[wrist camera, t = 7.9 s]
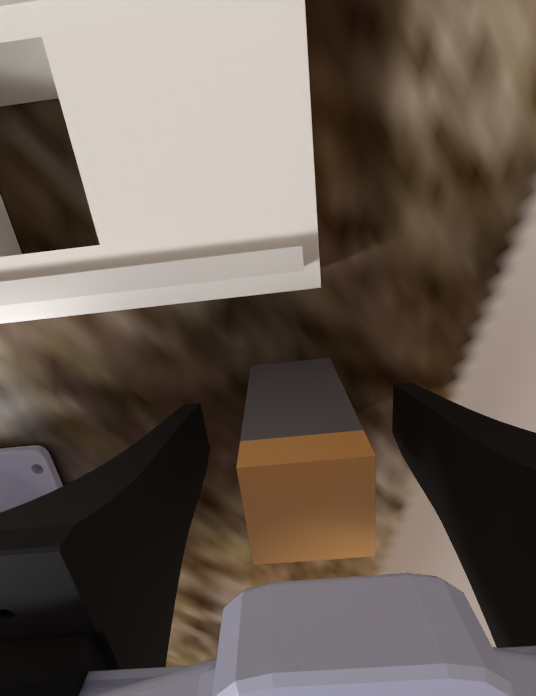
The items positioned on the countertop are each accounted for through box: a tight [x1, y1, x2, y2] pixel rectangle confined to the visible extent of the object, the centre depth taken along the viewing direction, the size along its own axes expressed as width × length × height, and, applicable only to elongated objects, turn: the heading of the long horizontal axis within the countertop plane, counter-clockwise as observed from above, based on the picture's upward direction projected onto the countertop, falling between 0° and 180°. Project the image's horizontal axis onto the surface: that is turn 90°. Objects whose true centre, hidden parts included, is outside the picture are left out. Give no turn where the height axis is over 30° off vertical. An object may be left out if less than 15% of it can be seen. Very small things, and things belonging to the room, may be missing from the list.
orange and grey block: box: [236, 358, 376, 565], centre depth 11 cm, size 3×3×6 cm
